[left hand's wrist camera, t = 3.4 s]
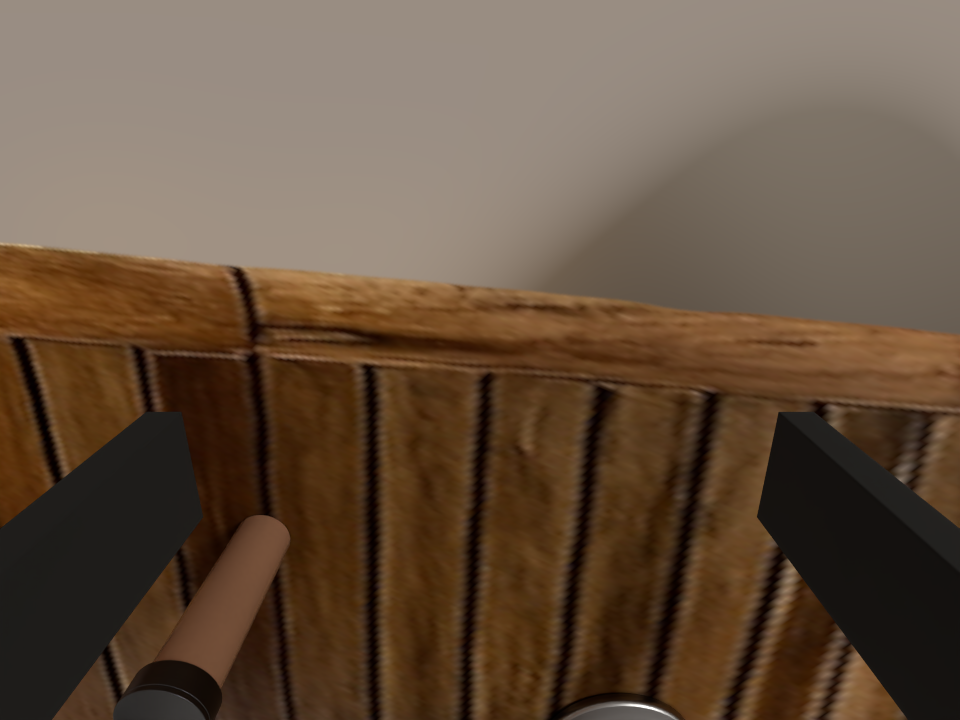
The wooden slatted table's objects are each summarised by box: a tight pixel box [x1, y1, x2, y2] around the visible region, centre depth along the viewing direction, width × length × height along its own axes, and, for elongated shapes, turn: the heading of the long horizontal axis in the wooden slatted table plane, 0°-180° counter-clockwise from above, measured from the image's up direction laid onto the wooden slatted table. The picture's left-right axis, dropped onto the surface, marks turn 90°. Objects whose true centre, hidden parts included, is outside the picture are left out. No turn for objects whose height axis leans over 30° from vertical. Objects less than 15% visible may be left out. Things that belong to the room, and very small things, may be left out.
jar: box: [152, 515, 290, 689], centre depth 40 cm, size 4×4×16 cm
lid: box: [113, 660, 222, 720], centre depth 33 cm, size 5×5×2 cm
